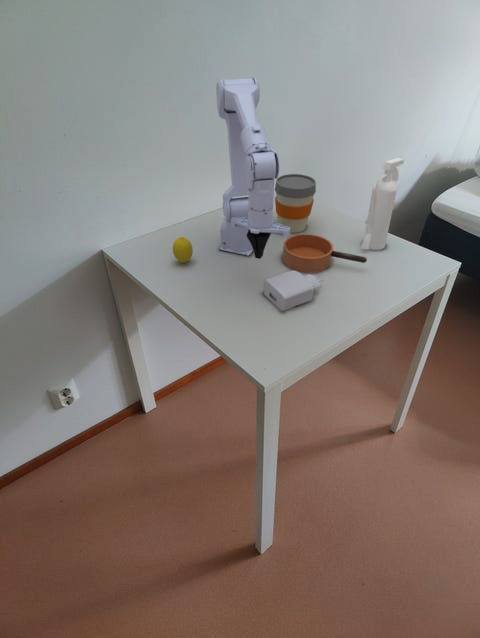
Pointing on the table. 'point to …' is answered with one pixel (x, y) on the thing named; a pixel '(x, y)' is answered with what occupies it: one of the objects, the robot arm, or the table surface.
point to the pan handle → (348, 256)
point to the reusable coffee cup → (294, 200)
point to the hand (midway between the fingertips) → (259, 256)
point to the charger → (290, 289)
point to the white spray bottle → (381, 206)
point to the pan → (307, 253)
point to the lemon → (182, 249)
